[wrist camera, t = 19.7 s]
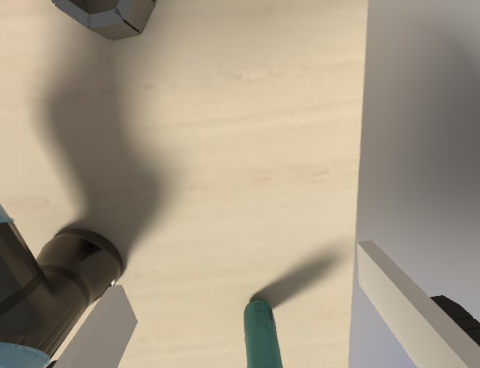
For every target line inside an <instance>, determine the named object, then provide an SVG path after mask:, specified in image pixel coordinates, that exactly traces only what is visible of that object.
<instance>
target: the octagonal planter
mask: <svg viewBox="0 0 480 368" xmlns="http://www.w3.org/2000/svg"><path fill="white" fill-rule="evenodd" d="M153 2H155V0H119V2H118V4H117V7H116V9H113V10H108V11H104V12H100V13H95V14H90V13H89V10H88V7H87V4H86V1H85V0H52V3H54V4H55V6H56V7H57V8H59V9H60V10H62V11H63V12H65V13H66V14H68V15H69V16H71V17H72V18H73V19H75V20H76V21H78V22H79V23H81V24H82V25H84V26H85V27H87V28H88V29H90V30H92V31H94V32H96V33H98V34H100V35H102V36H104V37H106V38H108V39H109V40H110V39H111V40H117V39H121V38H126V37H130V36H135V35H139V34H140V32H141V33H142V32H143V30H144V27H145V25H146V23H147V21H148V19H149V17H150V15H151V13H152V11H153V9H154V7H155V4H154V3H153ZM139 31H140V32H139Z"/></svg>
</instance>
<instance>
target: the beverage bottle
mask: <svg viewBox="0 0 480 368" xmlns="http://www.w3.org/2000/svg"><path fill="white" fill-rule="evenodd" d="M243 315H244V322H245V327H244V328H245V329H244V332H245V333H244V334H245V340H246V354H247V368H283V366H282V361H281V356H280V349H279V346H280V345H279V344H278V339H277V334H276V326H275V323H274V322H275V320H274V318H273V316H274V315H273V313H272V309H271V307H270V305H269V304H268V303H266V302H264V301H259V300H258V301H253V302H251V303H249V304H248V305H247V306H246V308H245V311H244V314H243Z"/></svg>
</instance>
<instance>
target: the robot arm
mask: <svg viewBox="0 0 480 368" xmlns="http://www.w3.org/2000/svg"><path fill="white" fill-rule="evenodd" d="M357 249H358V271H359V284H360V286H361V287H362V288H363V290H364V292H365V293H366V294H367V296H368V297H369V299H370V300H371V302H372V303H373V304H374V306H375V307H376V309H377V310H378V312H379V313H380V315H381V316H382V317H383V319H384V320H385V322H386V323H387V325H388V326H389V328H390V329H391V330H392V332H393V333H394V335H395V336H396V337H397V339H398V340H399V342H400V343H401V345H402V346H403V347H404V349H405V351H406V352H407V353H408V355H409V356H410V358H411V359H412V361H413V362H414V363H415V365H416V366H417V368H480V323H479V322H478V321H477V320H476V319H474V318H473V317H472V316H471V315H470V314H469V313H468V312H467V311H466V310H465V309H464V308H463V307H461V306H460V305H459V304H457V303H456V302H453V301H452V300H450V299H448V298H447V297H445V296H443V295H441V296H435V297H428V295H426V294H425V292H424V291H423V290H422V289H421V288H419V287H418V285H417V284H416V283H415V282H414V281H412V280H411V278H410V277H408V275H406V274H405V273H404V272H403V271H402V270H401V269H400V268H399V267H398V266H397V265H396V264H395V263H394V262H393V261H392V260H391V259H390V258H389V257H388V256H387V255H386V254H385V253H384V252H383V251H382V250H381V249H380V248H379V247H378V246H377V245H376V244H375V243H374V242H373V241H372V240H369V241H363V242H358V243H357ZM121 272H122V260H121V257H120V255H119V253H118V251H117V249H116V248H115V247H114V246H113V245H112V244H111V243H110V242H109V241H108V240H107V239H105V238H104V237H102V236H100V235H98V234H96V233H93V232H90V231H86V230H69V231H65V232H63V233H61V234H59V235H57V236H56V237H54V238H53V239H52V240H50V241H49V242H48V243H47V244H46V245H45V246H44V247H43V248H42V250H41V252H40V254H39V255H38V257H37V258H36V259H35V258H34V256H33V254H32V253H31V251H30V249H29V248H28V246H27V244H26V242H25V241H24V239H23V237H22V236H21V234H20V232H19V231H18V229H17V227H16V226H15V224H14V219H13V218H10V217H9V215H8V214H7V213H6V211H5V210H4V208H3V207H2V205H1V204H0V368H44V367H46V366H47V365H48V364H49V362H50V360H51V358H52V357H53V355H54V354H55V352H56V351H57V350H58V348H59V347H60V345H61V344H62V343H63V341H64V340H65V338H66V337H67V335H68V334H69V333H70V331H71V330H72V328H73V327H74V326H75V324H76V323H77V321H78V320H79V318H80V317H81V316H82V314H83V313H84V311H85V310H86V309H87V307H88V306H90V305H91V304H93V303H94V302H95V301H97V300H98V299H99V298H100V300H99V301H98V303H97V304H96V306H95V307H94V308H93V310H92V311H91V313H90V314H89V316H88V317H87V319H86V320H85V321H84V323H83V324H82V326H81V327H80V329H79V330H78V331H77V333H76V334H75V336H74V337H73V339H72V340H71V342H70V343H69V344H68V346H67V347H66V349H65V350H64V352H63V353H62V355H61V356H60V357H59V359H58V360H55V361H52V362H51V363H50V364H49V365H48V366H47V367H46V368H117V367H118V365H119V362H120V360H121V358H122V356H123V353H124V351H125V349H126V347H127V344H128V342H129V340H130V338H131V335H132V333H133V331H134V329H135V327H136V324H137V322H138V321H137V319H136V317H135V314H134V312H133V310H132V307H131V305H130V303H129V300H128V298H127V296H126V294H125V291H124V289H123V287H122V285H116V286H114V285H115V283H116V282H117V281H118V279H119V277H120V275H121Z"/></svg>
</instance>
